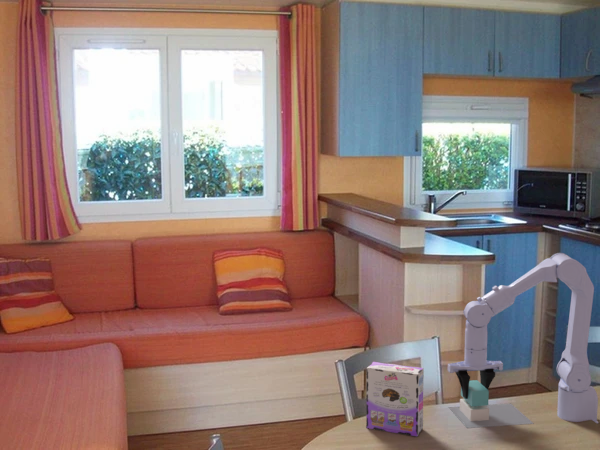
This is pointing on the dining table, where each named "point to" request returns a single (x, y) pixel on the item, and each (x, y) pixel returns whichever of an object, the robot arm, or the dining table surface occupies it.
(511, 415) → the baseplate
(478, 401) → the teal brick
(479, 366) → the robot arm
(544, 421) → the dining table surface
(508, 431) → the dining table surface
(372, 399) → the candy box
